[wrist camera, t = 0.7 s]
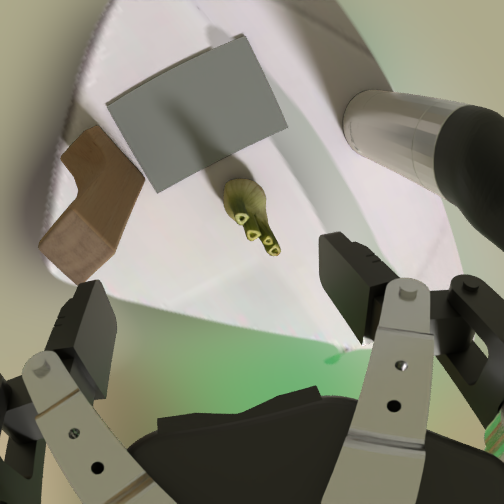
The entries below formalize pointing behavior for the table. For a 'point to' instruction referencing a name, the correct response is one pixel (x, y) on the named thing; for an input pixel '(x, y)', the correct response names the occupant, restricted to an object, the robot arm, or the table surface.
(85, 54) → the table surface
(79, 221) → the wooden block
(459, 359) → the robot arm
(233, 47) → the mat
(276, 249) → the fennel bulb
